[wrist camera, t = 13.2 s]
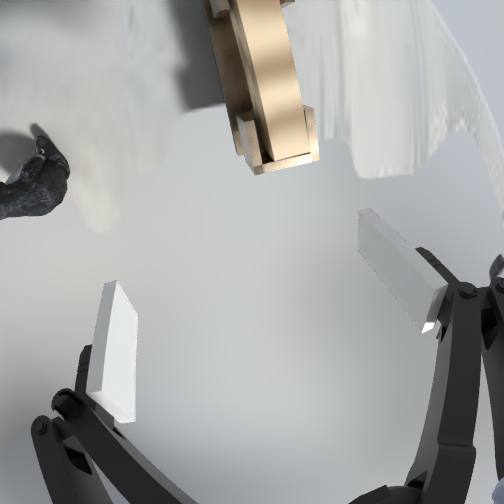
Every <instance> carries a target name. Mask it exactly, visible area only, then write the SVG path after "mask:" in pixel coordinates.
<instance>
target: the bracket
mask: <svg viewBox="0 0 504 504" xmlns="http://www.w3.org/2000/svg"><path fill="white" fill-rule="evenodd" d="M279 1H280V5H281V8H283V7H285V6H288V5H290V4H292V3H294V2H295V0H279ZM202 3H203V8H204V12H205V16H206V21H207V25H208V29H209V34H210V38H211V42H212V47H213V51H214V55H215V60H216V64H217V68H218V73H219V77H220V82H221V86H222V90H223V95H224V99H225V104H226V108H227V112H228V117H229V121H230V126H231V130H232V134H233V139H234V143H235V148H236V152H237V155H238V156H239V155H243V154H244V156H245V160H246V163H247V164H248V166H249V167H250V169H251V170H252V171H253V173H254V175H259V174H262V173H267V172H271V171H275V170H279V169H283V168H287V167H292V166H296V165H300V164H305V163H309V162H314V161H318V160H320V158H319V149H318V140H317V131H316V123H315V116H314V109H313V108H311V107H308V106H305V105H303V110H304V116H305V122H306V127H307V133H308V139H309V145H310V152H308V153H304V154H300V155H296V156H292V157H288V158H285V159H281V160H277V161H274V160H273V159H272V158H271V157H270V156H269V154H268V153H267V152H266V151H265V150H264V149H263V147H262V143H261V138H260V134H259V130H258V125H257V121H256V117H255V113H254V108H253V104H252V100H251V96H250V92H249V88H248V84H247V80H246V75H245V71H244V67H243V63H242V60H241V56H240V52H239V48H238V44H237V40H236V36H235V32H234V29H233V25H232V21H231V17H230V14H229V10H230V6H229V2H228V0H202Z"/></svg>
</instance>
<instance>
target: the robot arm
mask: <svg viewBox="0 0 504 504" xmlns="http://www.w3.org/2000/svg"><path fill="white" fill-rule="evenodd" d="M358 235H359V236H358V252H359V253H360V255H361V256H362V257H363V258H364V260H365V261H366V262H367V263H368V264H369V266H370V267H371V268H372V269H373V271H374V272H375V273H376V274H377V276H378V277H379V278H380V279H381V281H382V282H383V283H384V284H385V286H386V287H387V288H388V289H389V291H390V292H391V293H392V295H393V296H394V297H395V299H396V300H397V301H398V302H399V304H400V305H401V306H402V308H403V309H404V310H405V312H406V313H407V314H408V316H409V317H410V318H411V320H412V321H413V322H414V324H415V325H416V326H417V328H418V329H419V330H420V332H421V333H424V332H426V331H428V330H430V329H431V328H434V326H435V323H436V321H437V319H438V320H439V321H440V323H441V327H440V329H439V332H438V334H437V337H436V339H438V338H439V342H438V351H437V359H436V366H435V373H434V379H433V385H432V390H431V396H430V401H429V406H428V411H427V415H426V420H425V424H424V428H423V432H422V436H421V441H420V444H419V448H418V451H417V455H416V458H415V461H414V463H413V465H412V467H411V469H410V471H409V473H408V476H407V478H406V481H405V484H404V486H393V487H387V486H386V485H384V486H382V487H380V488H377V489H375V490H373V491H371V492H368V493H366V494H364V495H361V496H359V497H358V498H356V499H355V500H353V501H352V502H350V503H349V504H464V503H465V500H466V496H467V493H468V489H469V485H470V481H471V477H472V473H473V468H474V464H475V459H476V448H475V447H474V446H473V436H474V430H475V423H476V416H477V408H478V398H479V386H480V371H481V353H482V357H483V363H484V367H485V372H486V378H487V384H488V390H489V396H490V404H491V411H492V420H493V430H494V443H495V460H496V469H497V476H498V480H499V482H498V484H497V485H496V488H495V490H494V491H493V493H492V499H493V500H494V504H504V278H501V277H496V278H493V279H492V280H491V283H490V286H488V287H481V288H476V287H475V286H474V285H472V284H471V283H468V282H460V281H459V280H458V279H456V277H455V276H454V275H453V274H452V273H451V272H450V271H449V270H448V269H447V268H446V267H445V266H444V265H443V264H441V262H440V261H439V260H438V259H436V257H435V256H434V255H433V254H432V253H431V252H430V251H428V250H426V249H424V248H422V247H419V248H416V249H414V248H413V247H412V246H411V245H410V244H409V243H408V242H407V241H406V240H405V239H404V238H403V237H402V236H401V235H400V234H399V233H398V232H397V231H395V230H394V229H393V228H392V227H391V226H390V225H389V224H388V223H387V222H386V221H385V220H384V219H382V218H381V217H380V216H379V215H378V214H377V213H376V212H375V211H374V210H373V209H371V208H368V209H364V210H360V211H359V234H358ZM137 325H138V315H137V313H136V312H135V310H134V308H133V307H132V305H131V303H130V302H129V300H128V298H127V297H126V295H125V293H124V291H123V290H122V288H121V286H120V284H119V283H118V281H117V280H115V281H112V282H108V283H105V284H104V288H103V293H102V298H101V302H100V307H99V312H98V317H97V322H96V327H95V332H94V338H93V344H92V345H87V346H85V347H84V349H83V351H82V352H81V354H80V359H79V366H78V370H77V372H78V373H77V377H76V384H75V391H72V390H71V389H68V388H65V389H61V390H60V391H58V392H57V393H56V395H55V396H54V397H53V400H52V406H51V407H52V410H53V412H54V413H56V414H57V415H58V417H56V418H54V419H52V420H51V419H49V418H48V417H47V416H44V415H41V416H38V417H37V418H36V419H35V420H34V421H33V423H32V426H31V435H32V439H33V443H34V447H35V451H36V454H37V458H38V461H39V465H40V468H41V471H42V474H43V477H44V480H45V483H46V486H47V489H48V491H49V494H50V496H51V499H52V502H53V504H113V502H112V501H111V499H110V497H109V495H108V493H107V491H106V490H105V488H104V485H103V484H102V481H101V479H100V477H99V475H98V473H97V471H96V469H95V467H94V465H93V462H92V460H91V458H92V459H93V461H94V462H95V463H96V465H97V466H98V467H99V468H100V469H101V471H102V472H103V473H104V474H105V476H106V477H107V478H108V479H109V480H110V482H111V483H112V484H113V485H114V486H115V487H116V488H117V490H118V491H119V492H120V493H121V494H122V495H123V496H124V497H125V498H126V500H127V501H128V502H129V503H130V504H198V503H197V502H196V501H194V500H193V499H192V498H190V497H189V496H188V495H187V494H186V493H184V492H183V491H182V490H181V489H180V488H178V487H177V486H176V485H175V484H174V483H173V482H172V481H170V480H169V479H168V478H167V477H166V476H165V475H163V473H161V472H160V471H159V470H158V469H157V468H156V467H155V466H154V465H153V464H152V463H151V462H150V461H149V460H148V459H147V458H145V456H144V455H142V454H141V453H140V452H139V451H138V449H136V447H135V446H133V444H132V443H131V442H130V441H129V440H128V439H127V438H126V437H125V436H124V435H123V434H122V433H121V432H120V431H119V429H118V428H117V427H115V426H114V418H115V419H116V420H117V421H118V422H120V423H127V422H134V421H135V371H136V343H137ZM90 457H91V458H90Z"/></svg>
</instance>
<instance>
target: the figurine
mask: <svg viewBox="0 0 504 504" xmlns="http://www.w3.org/2000/svg"><path fill="white" fill-rule="evenodd" d="M37 146H38V147H36V151H35V152H36V156H35V157H34V158H31V159H27V160H25V161H23V162H22V163H21V164H20V165H19V167H18V170H17V171H16V172H15V173H14V174H12V175H11V176H10V177H9V178H8V179H7V181H6V183H3V182H0V220H2V219H5V218H8V217H21V216H42V215H46V214H47V213H49V212H51V211H52V210H53V209H54V208H55V207H56V206H57V205H59V204H60V203H62V201H63V198H64V196H65V194H66V191H67V181H66V180H67V179H68V178H69V174H70V169H69V165H68V162H67V160H66V159H65V158H64V157H63V156H62V155H61V154H60V152H59V151H58V150H57V149H56V147H55V146H54V144H53V143H52V142H51V141H50V140H49V139H47V138H46V137H44V136H38V140H37Z"/></svg>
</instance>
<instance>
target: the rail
mask: <svg viewBox="0 0 504 504" xmlns="http://www.w3.org/2000/svg"><path fill="white" fill-rule="evenodd" d="M228 2H229V6H230V10H229V14H230V17H231V21H232V25H233V29H234V32H235V36H236V40H237V44H238V48H239V52H240V56H241V60H242V63H243V67H244V71H245V75H246V80H247V84H248V88H249V92H250V96H251V100H252V104H253V108H254V113H255V117H256V121H257V125H258V130H259V134H260V138H261V143H262V147H263V149H264V150H265V151H266V152H267V153H268V154H269V156H270V157H271V158H272V159H273V160H274V161H277V160H281V159H285V158H288V157H292V156H296V155H300V154H304V153H308V152H310V145H309V139H308V133H307V127H306V122H305V116H304V110H303V105H302V100H301V94H300V89H299V84H298V79H297V74H296V69H295V65H294V60H293V55H292V51H291V46H290V42H289V37H288V33H287V29H286V25H285V21H284V17H283V13H282V9H281V5H280V1H279V0H228Z"/></svg>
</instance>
